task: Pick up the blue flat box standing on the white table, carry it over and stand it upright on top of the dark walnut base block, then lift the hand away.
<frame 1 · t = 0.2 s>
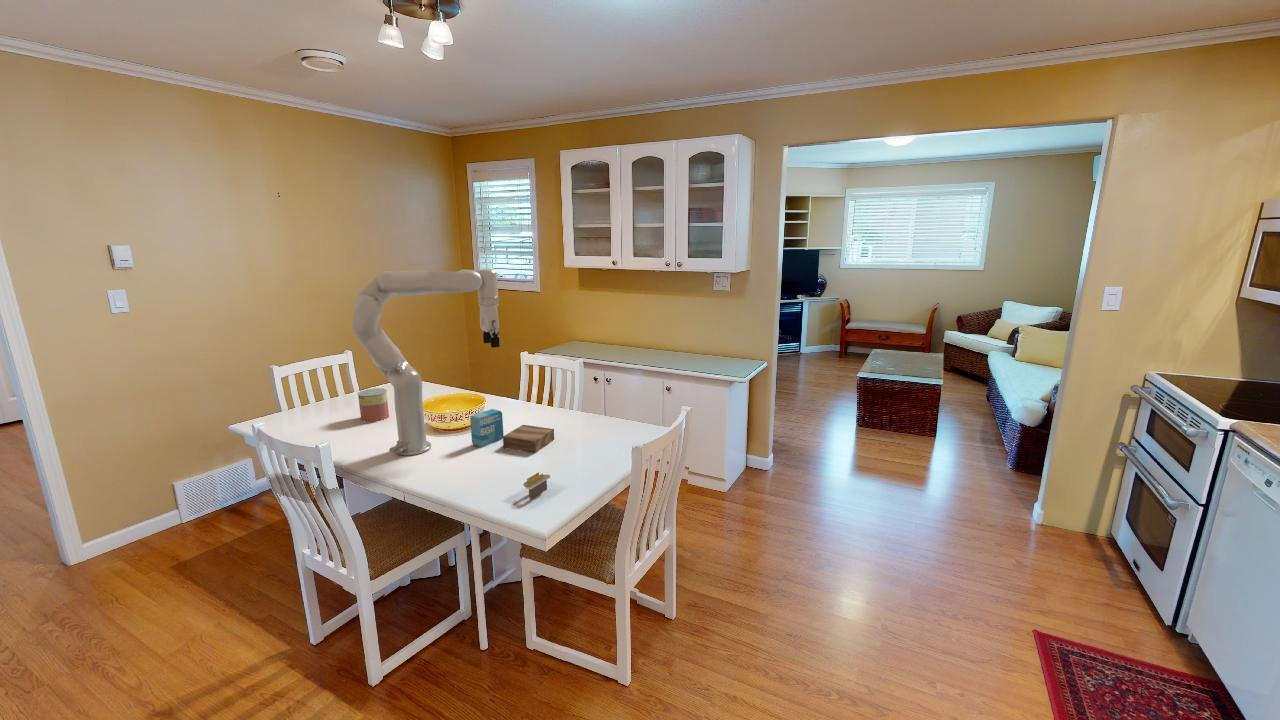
hand: (491, 345, 217), 36 cm above the table, tool pointing down, fingers open, 9 cm apart
platform: (536, 495, 173), on the table
blue flat box: (488, 442, 214), on the table
walnut base block: (529, 444, 213), on the table
canned food: (375, 418, 241), on the table
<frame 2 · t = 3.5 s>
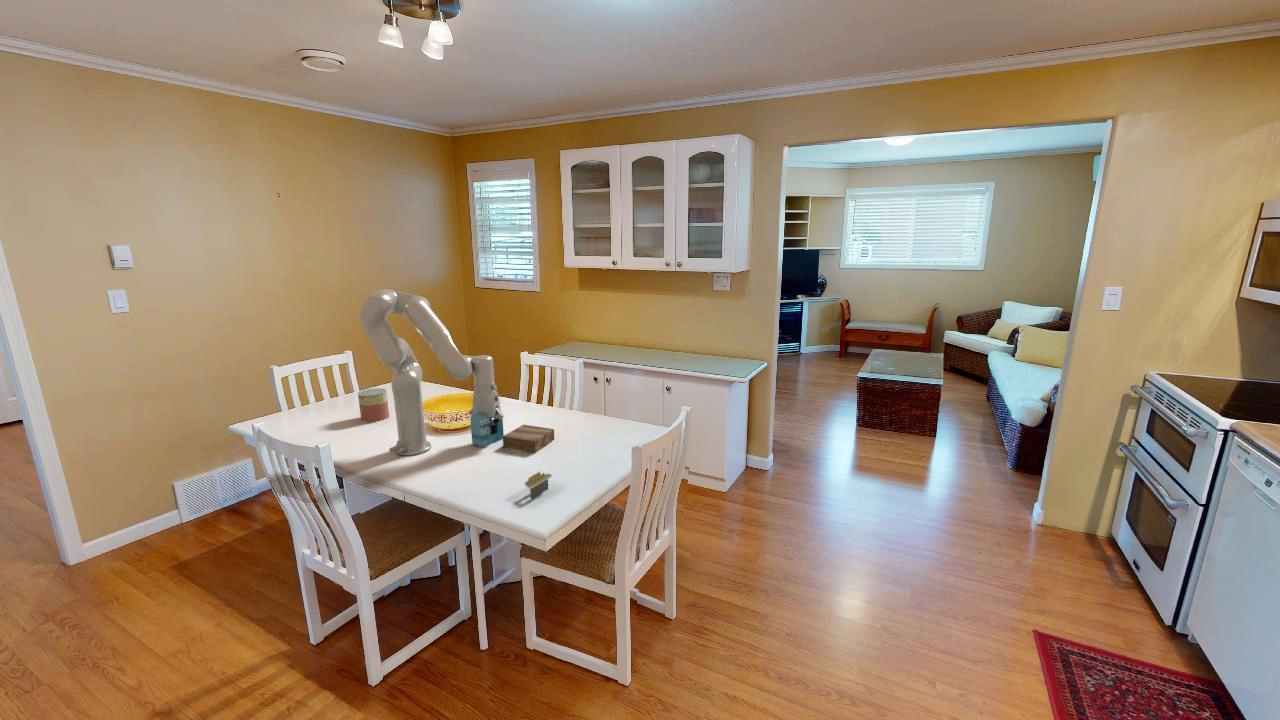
hand: (487, 432, 213), 4 cm above the table, tool pointing down, fingers closed on blue flat box, 5 cm apart
blue flat box: (488, 442, 214), on the table, touching gripper
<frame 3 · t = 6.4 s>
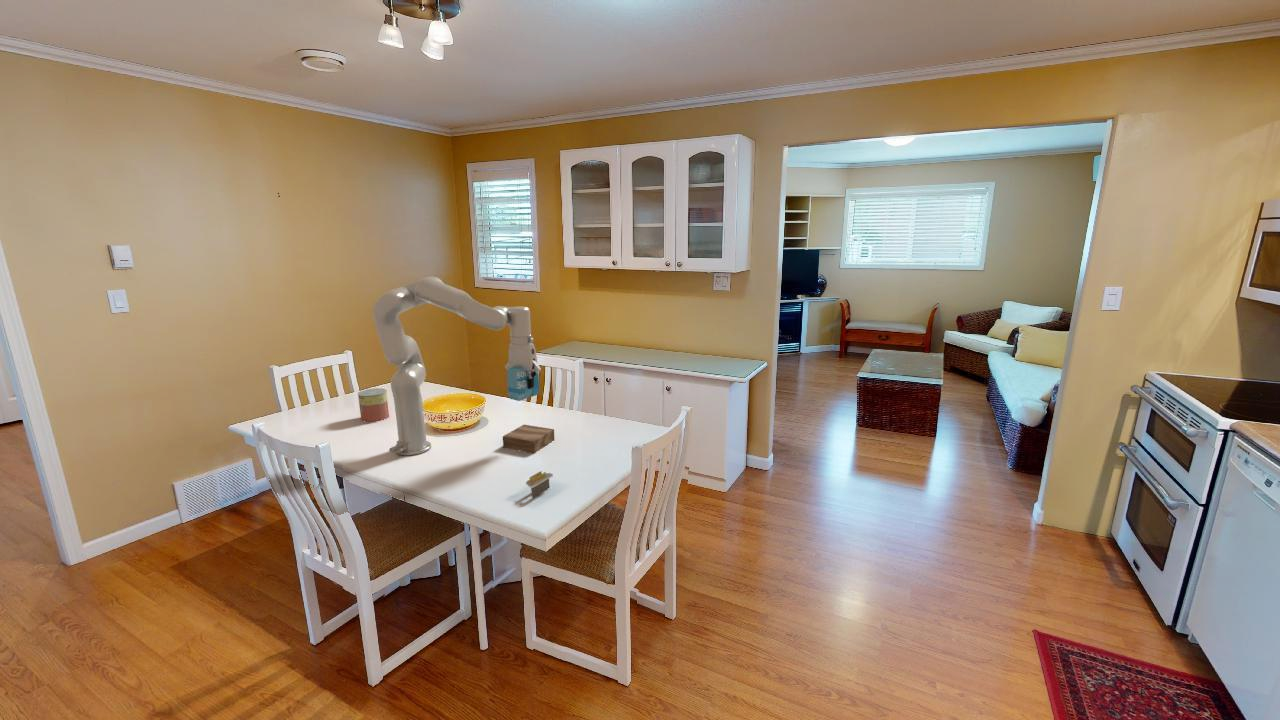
hand: (523, 386, 207), 23 cm above the table, tool pointing down, fingers closed on blue flat box, 5 cm apart
blue flat box: (524, 397, 209), point 19 cm above the table, touching gripper
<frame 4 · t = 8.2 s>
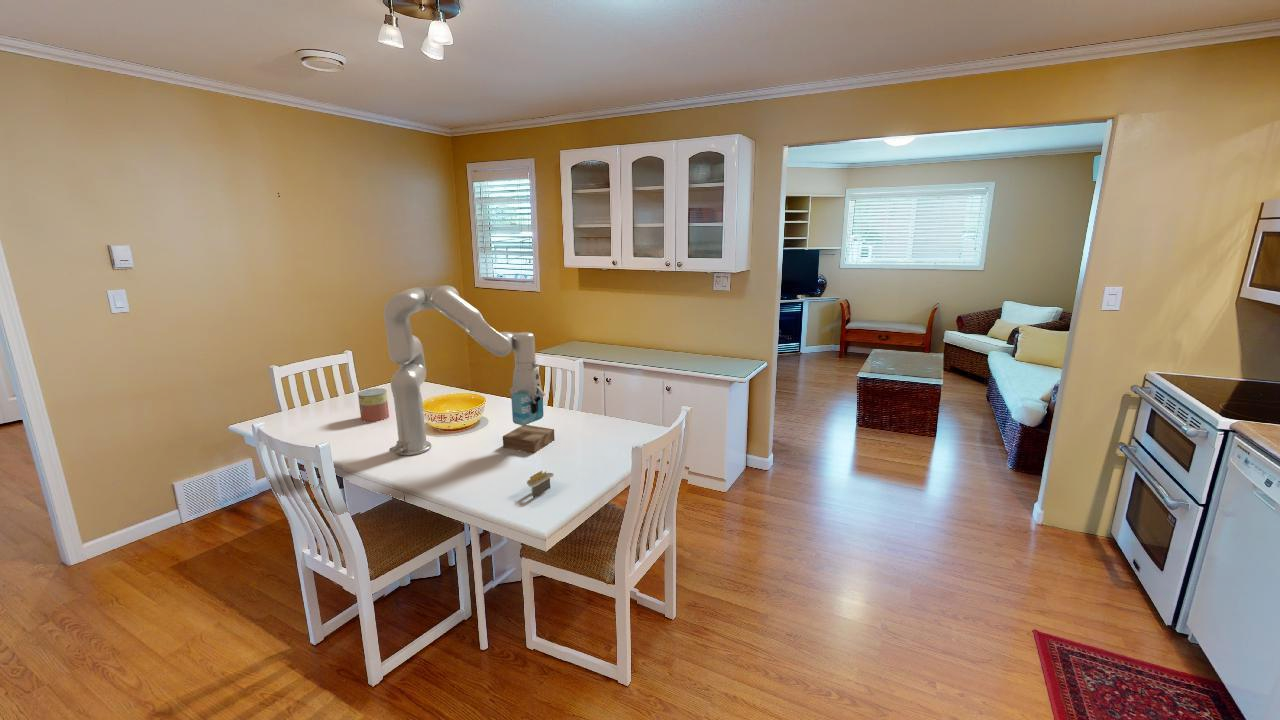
hand: (527, 411, 210), 13 cm above the table, tool pointing down, fingers closed on blue flat box, 5 cm apart
blue flat box: (528, 421, 211), point 9 cm above the table, touching gripper
when the fingers open (10 cm above the table, at t = 9.6 s): blue flat box drops 2 cm, resting on walnut base block.
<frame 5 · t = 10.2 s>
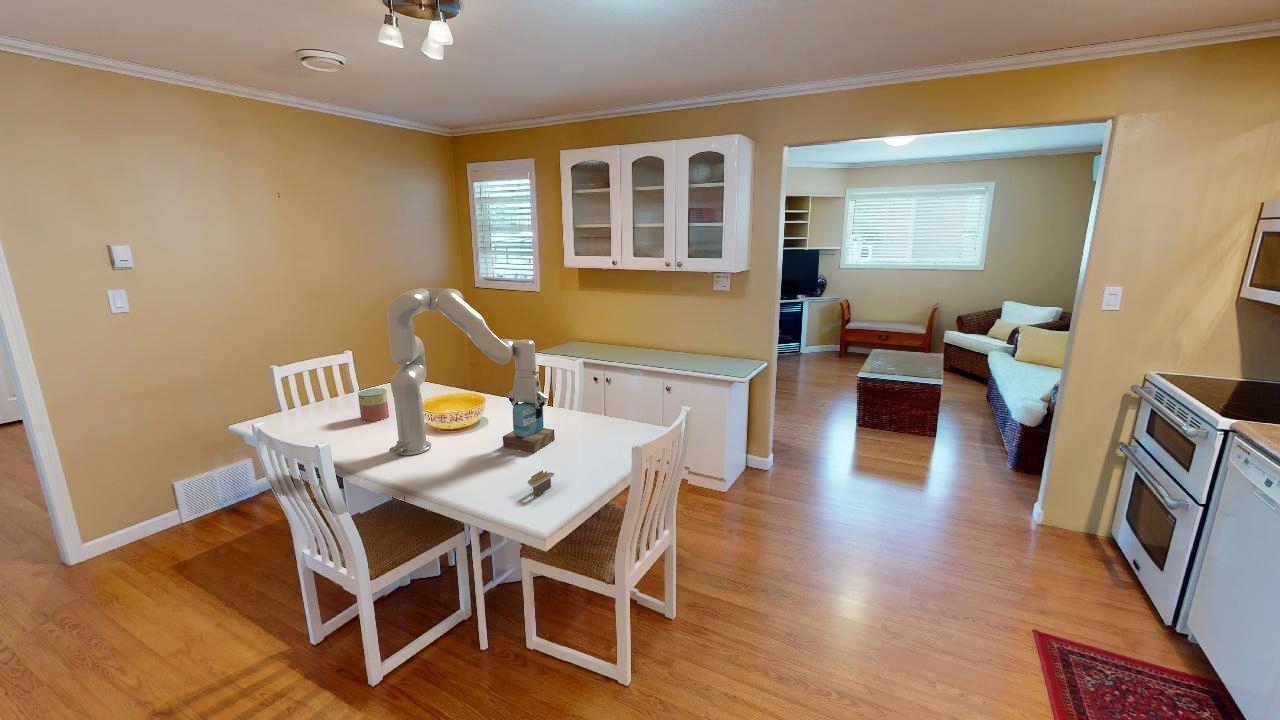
hand: (528, 416, 210), 11 cm above the table, tool pointing down, fingers open, 9 cm apart
blue flat box: (528, 433, 212), point 4 cm above the table, touching walnut base block
walnut base block: (529, 445, 213), on the table, touching blue flat box
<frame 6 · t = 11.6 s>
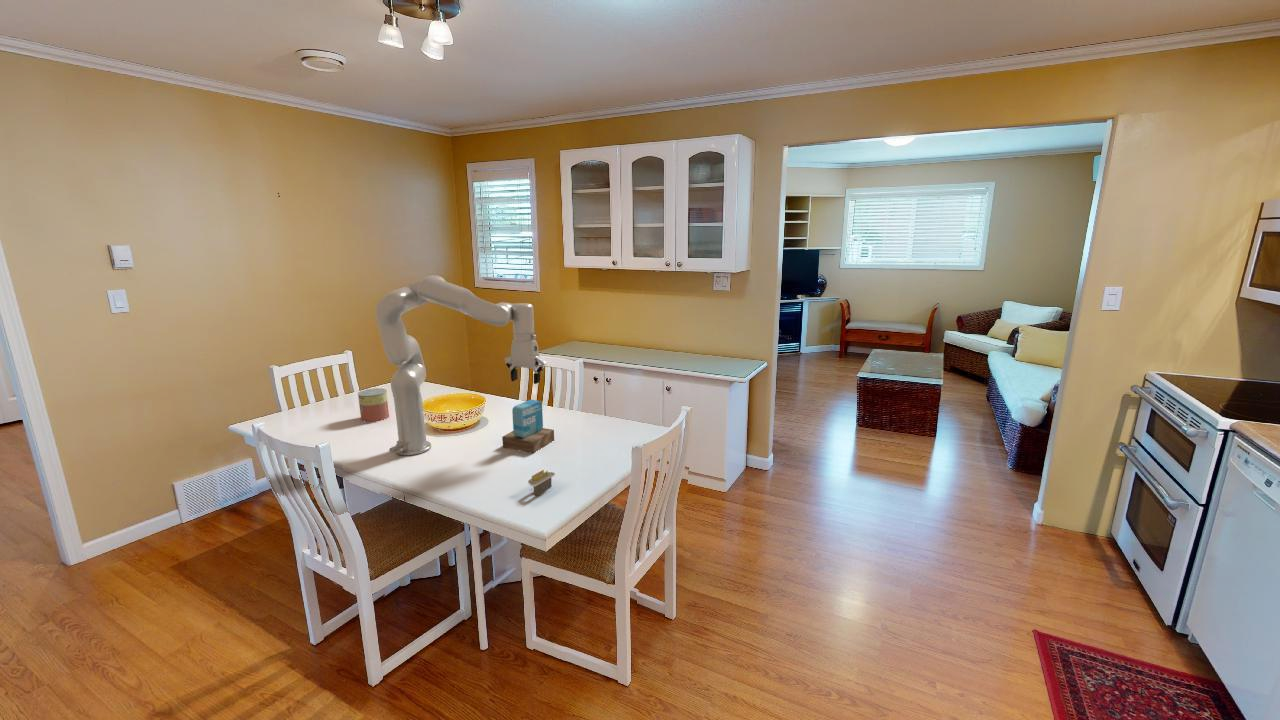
hand: (525, 381, 207), 25 cm above the table, tool pointing down, fingers open, 9 cm apart
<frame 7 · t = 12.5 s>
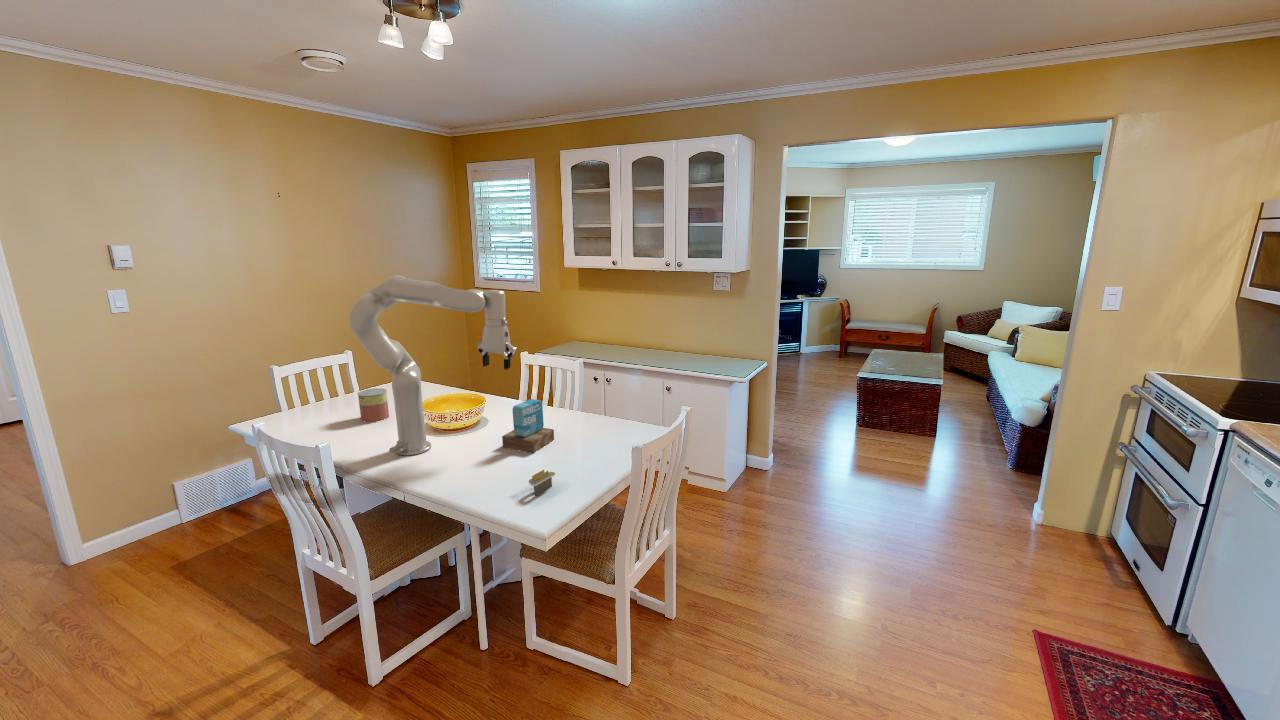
hand: (496, 367, 211), 29 cm above the table, tool pointing down, fingers open, 9 cm apart
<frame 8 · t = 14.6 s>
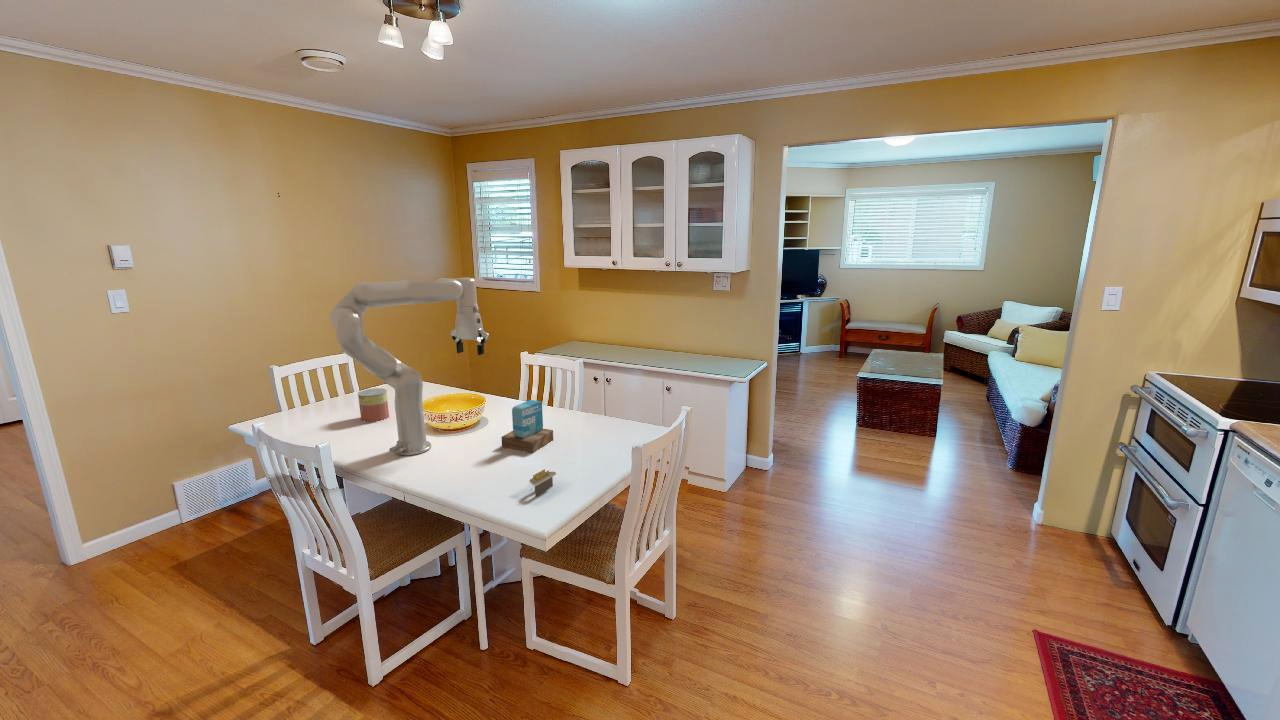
hand: (470, 353, 216), 33 cm above the table, tool pointing down, fingers open, 9 cm apart
at the end: blue flat box inside the target area on the walnut base block (0.4 cm from its centre), point 4.8 cm above the walnut base block's base; blue flat box tilted 0°; the gripper is holding nothing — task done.
